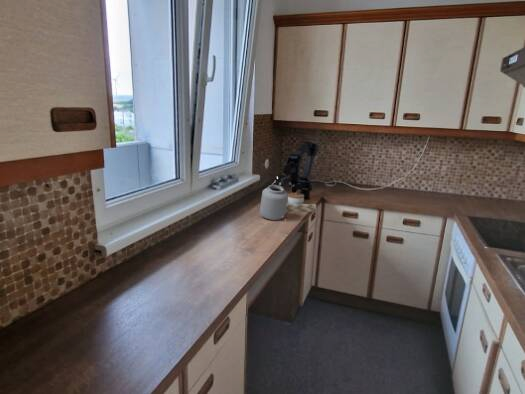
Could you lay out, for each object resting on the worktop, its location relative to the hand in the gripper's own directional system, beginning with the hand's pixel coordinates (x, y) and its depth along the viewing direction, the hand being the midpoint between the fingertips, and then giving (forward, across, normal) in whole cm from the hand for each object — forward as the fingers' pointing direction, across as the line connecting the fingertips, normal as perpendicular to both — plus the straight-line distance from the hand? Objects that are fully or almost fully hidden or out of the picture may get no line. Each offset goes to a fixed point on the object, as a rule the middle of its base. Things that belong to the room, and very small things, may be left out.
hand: (292, 195), depth 236 cm
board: (+5, +18, 0) cm, 18 cm away
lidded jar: (+5, +7, 0) cm, 9 cm away
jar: (+5, +32, -19) cm, 37 cm away
